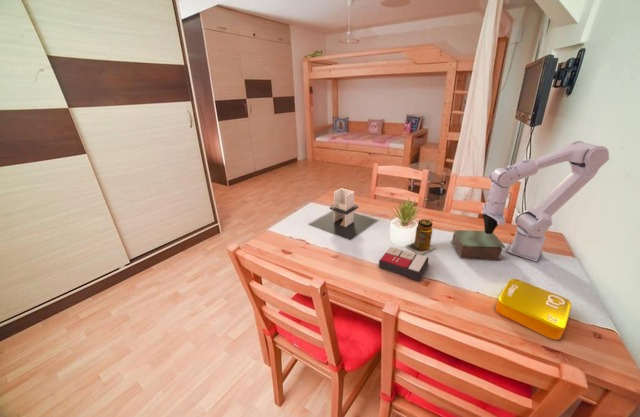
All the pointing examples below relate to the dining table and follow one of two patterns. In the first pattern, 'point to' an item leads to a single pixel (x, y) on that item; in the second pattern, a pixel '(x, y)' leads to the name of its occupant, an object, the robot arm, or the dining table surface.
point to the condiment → (422, 237)
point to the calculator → (404, 263)
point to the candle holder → (343, 217)
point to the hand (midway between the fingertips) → (488, 233)
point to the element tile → (534, 308)
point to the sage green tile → (478, 239)
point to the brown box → (476, 251)
